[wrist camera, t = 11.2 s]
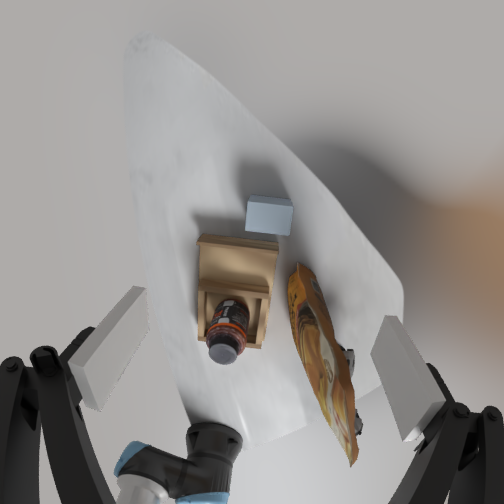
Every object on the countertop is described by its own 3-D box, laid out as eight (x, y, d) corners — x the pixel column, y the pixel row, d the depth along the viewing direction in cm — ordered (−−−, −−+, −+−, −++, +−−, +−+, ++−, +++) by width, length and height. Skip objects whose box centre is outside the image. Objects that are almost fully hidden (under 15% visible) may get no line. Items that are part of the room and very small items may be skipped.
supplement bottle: (220, 292, 47) (206, 332, 36) (255, 303, 47) (250, 345, 36) (212, 320, 49) (197, 362, 38) (244, 330, 49) (237, 374, 39)
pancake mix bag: (323, 249, 45) (379, 373, 19) (328, 343, 51) (357, 473, 25) (282, 255, 46) (292, 387, 19) (294, 348, 52) (302, 481, 25)
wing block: (287, 224, 44) (289, 236, 38) (248, 220, 44) (244, 230, 38) (290, 199, 43) (293, 206, 37) (250, 194, 43) (247, 201, 37)
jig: (264, 335, 51) (263, 349, 47) (199, 327, 51) (195, 339, 48) (278, 242, 45) (278, 251, 41) (202, 233, 45) (196, 241, 41)
